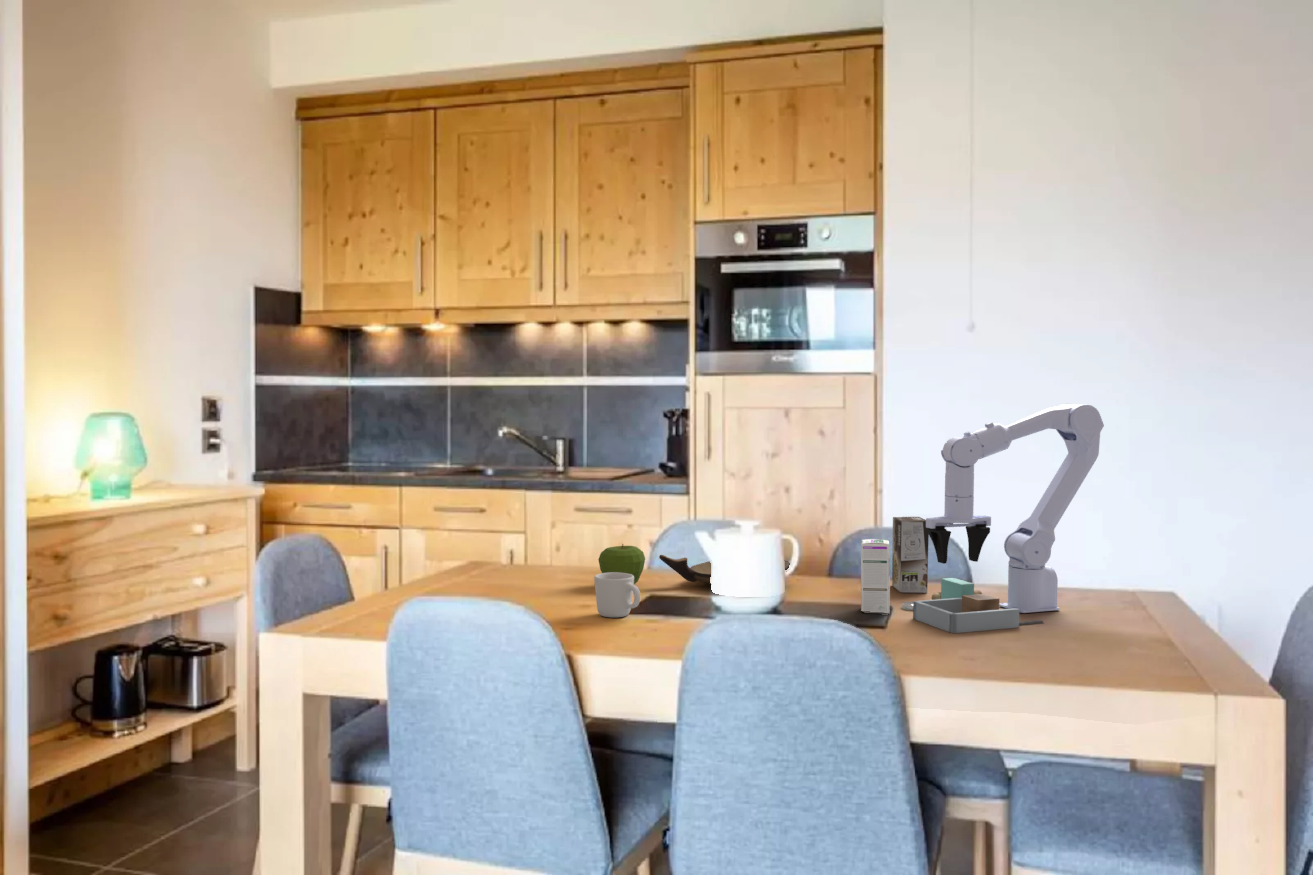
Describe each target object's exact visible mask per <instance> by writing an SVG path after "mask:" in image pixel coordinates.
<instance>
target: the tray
mask: <svg viewBox="0 0 1313 875" xmlns="http://www.w3.org/2000/svg"><path fill="white" fill-rule="evenodd" d="M912 602H913V611H912V619H913V620H915V621H918V622H921V623H924V624H926V625H929V626H932V627H934V628H937V629H940V630H942V631H946V632H949V633H951V634H959V633H970V632H972V633H973V632H981V631H982V632H983V631H992V630H993V631H994V630H1004V629H1016V628H1020V625H1019V622H1020V612H1019V609H1017V608H1012V609H1008V608H1001V609H1000V608H999V610H988V611H975V612H963V613H962V598H949V599H936V600H932V599H925V600H924V599H923V600H913V601H912Z"/></svg>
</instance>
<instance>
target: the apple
mask: <svg viewBox="0 0 1313 875" xmlns="http://www.w3.org/2000/svg"><path fill="white" fill-rule="evenodd" d="M597 560H598V565H599V569H600V572H601V573H610V572H618V573H628V574H632V575H633V576H634V585H636V584H637V583H638V582H639V579H640V577H641V576H642V573H643V570H644V567H645V562H646V557H645V554H644V552H643V550H641V549H640V548H639V547H637V546H634V545H624V543H622V544H621V545H615V546H610V547H607V548H605V549H604V550H603V551H601V552H600V554H599V557H598V559H597Z"/></svg>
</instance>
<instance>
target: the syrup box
mask: <svg viewBox="0 0 1313 875" xmlns="http://www.w3.org/2000/svg"><path fill="white" fill-rule="evenodd" d="M890 562H891V558H890V541H889V539H882V538H867V539H861V542H860V601H861V602H860V612H861V611H870V612H884V613H889V614H890V612H891V611H890V609H891V608H890V606H891V604H890V603H891V601H890V600H891V563H890Z"/></svg>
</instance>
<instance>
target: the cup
mask: <svg viewBox="0 0 1313 875" xmlns="http://www.w3.org/2000/svg"><path fill="white" fill-rule="evenodd" d="M593 580H594V588H595V589H594V592H595V600H596V602H595V603H596V608H597V609H596V610H597V612H598V615H600V616H602V617H605V618H611V619H612V618H613V619H615V618H623V617H627V616H629V614H630V612H631V610H632V609H636V608H637V607H638V606H639V605H640V601H641V591H640V589H639V587H638V586H637V585H636V584H634V576H633V575H632V574H628V573H618V572H610V573H602V572H601V573H598V574H595V575H594V578H593ZM633 595H634V597H633Z"/></svg>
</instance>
